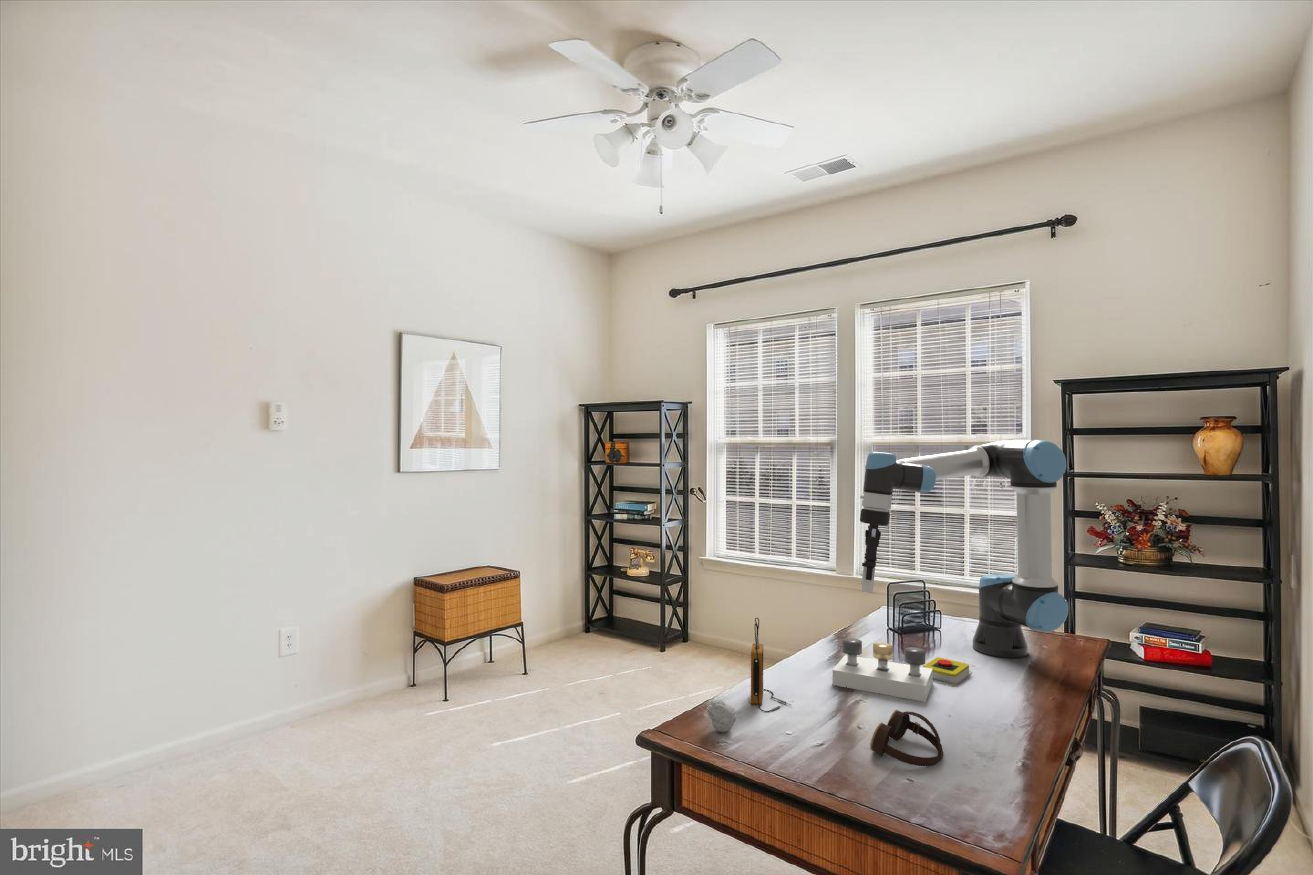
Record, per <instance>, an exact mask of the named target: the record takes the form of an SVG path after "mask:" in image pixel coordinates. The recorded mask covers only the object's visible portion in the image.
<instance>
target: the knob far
mask: <svg viewBox="0 0 1313 875" xmlns="http://www.w3.org/2000/svg"><path fill="white" fill-rule="evenodd" d="M842 653H843V654H844V655H848V665H849V666H855V667H857V657H858V656H860V655H861V654H862V653H863V642H862V640H861V639H858V638H854V637H853V638H851V637H846V638H843V639H842Z"/></svg>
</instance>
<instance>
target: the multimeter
mask: <svg viewBox="0 0 1313 875" xmlns="http://www.w3.org/2000/svg"><path fill="white" fill-rule="evenodd" d="M754 622H755V623H754V628H753V629H754V640H755V643H752V646H751V650H750V704H751V705H757V706H758V708H759V711H762V712H764V713H769V712H772V711H776V710H777V709H780V708H781V707H783V706H784V705H789V706H792V704H790V703H788V702H787V701H785V700H782V699H780V698H776V697H773V696H774V692H773V691H771V690H769V689H765V688H764V643H760V642H759V641H760V640H759V629H760V619H759V617H755V618H754ZM763 689H764V690H763ZM766 690H767V692H769V691H770V693H771V695H770V697H771V699H774V700H776V701H778V702H779V703H783V704H781V705H777V706H775V707H773V708H771V709H770V710H764V709H762V708H761V707H760V705H763V697H764V691H766Z"/></svg>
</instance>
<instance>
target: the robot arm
mask: <svg viewBox="0 0 1313 875" xmlns="http://www.w3.org/2000/svg"><path fill="white" fill-rule="evenodd" d="M864 469H865V470H864V480H863V490H862V492H863V493H862V494H860V496H859V499H862V501H861V507H863V508H861V509H860V514H859V515H860V517H859V521H860V523H863V524H868V525H867V529H865V531H864V532H865V533H864V537H865V540H864V542H865V544H864V545H865V552H864V560H863V562H862V564H861V566H862V567H863V569H862V576H861V592H863V593H869V594H873V593H874V584H875V583H874V582H875V581H874V580H875V573H876V567H877V560H878V557H877V552H878V547H879V546H880V540H881V536H882V532H881V531H880V529H879V526H884V527H887V526H889V525H890V517H891V513H890V512H889V511H891V509H892V500H893V491H894V490H899V491H906V492H914V493H919V494H920V493H924V494H925V493H926V494H927V493H929V492H931V491H932V490H933V489H934V487H935V485H936V481H940V480H947V479H948V480H949V479H953V478H954V479H955V478H961V477H968V476H975V477H976V478H984V477H994V478H1004V479H1005V478H1006V479H1010V488H1011V489H1012V490H1013V491H1014V492H1015V493H1016V537H1017V538H1016V539H1017V540H1016V541H1017V545H1016V546H1017V575H1016V574H1015V575H1014V574H984V575H982V576H981V577H980V578H979V585H978V625H977V627H976V629H975V632H974V636H973V638H972V648H973V649H974V650H976V651H977V652H978V653H981V654H985V655H988V656H991V657H992V656H993V657H1000V658H1007V659H1009V658H1010V659H1011V658H1012V659H1015V658H1016V659H1017V658H1024V657H1027V655H1028V654H1029V647H1028V643H1027V640H1026V637H1025V635H1024V632H1023V628H1022V626H1023V627H1026V628H1029V629H1030V630H1032V631H1039V632H1040V633H1041V632H1042V633H1051V632H1052V633H1053V632H1054V631H1056V630H1058V629H1059V628H1061V626H1062V625H1063V624H1064V623H1065V622H1066V620H1067V617H1068V615H1069V603H1068V600H1067V599H1065V596H1063V594H1060V593H1059V583H1058V581H1057V580H1055V579H1054V578H1053V571H1052V570H1053V565H1052V561H1053V560H1052V558H1053V557H1052V556H1053V555H1052V505H1051V504H1052V499H1051V498H1052V497H1051V496H1052V495H1051V493H1052V492H1054V491H1055V490H1056V489H1057V488H1058V487H1057V483H1058V481H1060V480H1062V478H1063V477H1064V476H1063V475H1064V474H1065V473H1066V470H1067V459H1066V455H1065V453H1064V452H1063V449H1061V448H1060V447H1059V446H1058V445H1057V444H1056V443H1055V442H1052V441H1049V440H1043V439H1004V440H997V441H993V442H989V443H983V444H979V445H973V446H971V447H970V448H969V449H968V450H967V449H966V450H960V451H959V450H958V451H953V452H945V453H938V454H931V455H924V456H917V457H910V458H909V457H908V458H902V459H901V458H900V459H897V455H896V454H894V453H889V452H881V451H880V452H879V451H870V452H868V455H867V458H866V464H865V467H864Z"/></svg>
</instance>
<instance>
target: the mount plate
mask: <svg viewBox="0 0 1313 875" xmlns="http://www.w3.org/2000/svg"><path fill="white" fill-rule="evenodd" d="M933 683H934V682H933V669H932V668H925V667H923V666H920V677H915V676H910V664H905V663H900V662H893V661H888V672H885V671H879V670H878V659H876V658H875V659H874V658H868V657H861V656H857V667H855V666H849V665H848V654H844V656H843V657H842V658H841V659H840V660H839V661H838V663H837V664H836V665H835V667H834V668H833V669H832V686H835V685H837V687H842V688H846V687H847V688H848V689H851V690H852V689H853V690H858V691H863V692H869V693H873V694H874V693H875V694H879V693H880V695H885V696H892V697H896V698H903V699H906V700H907V699H908V700H913V701H920V702H922V703H923V702H924V703H926V700H927V699H928V697H929V694H930V692H931V688H932V687H933Z"/></svg>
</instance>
